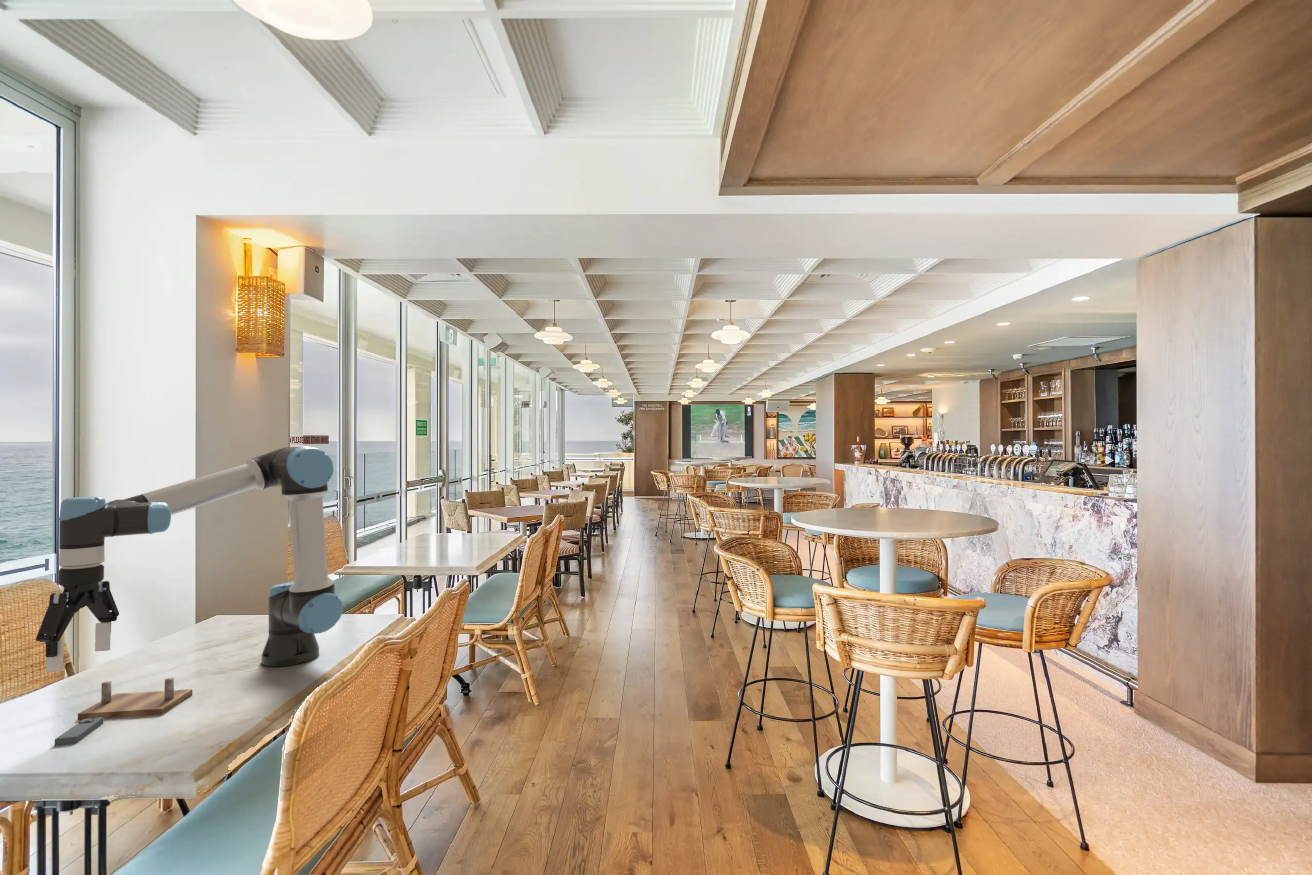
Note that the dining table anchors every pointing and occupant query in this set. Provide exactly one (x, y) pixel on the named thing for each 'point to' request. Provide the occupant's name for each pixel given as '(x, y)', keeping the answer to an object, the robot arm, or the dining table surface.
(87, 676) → the dining table surface
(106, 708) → the mount
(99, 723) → the dark grey block
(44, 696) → the dining table surface
